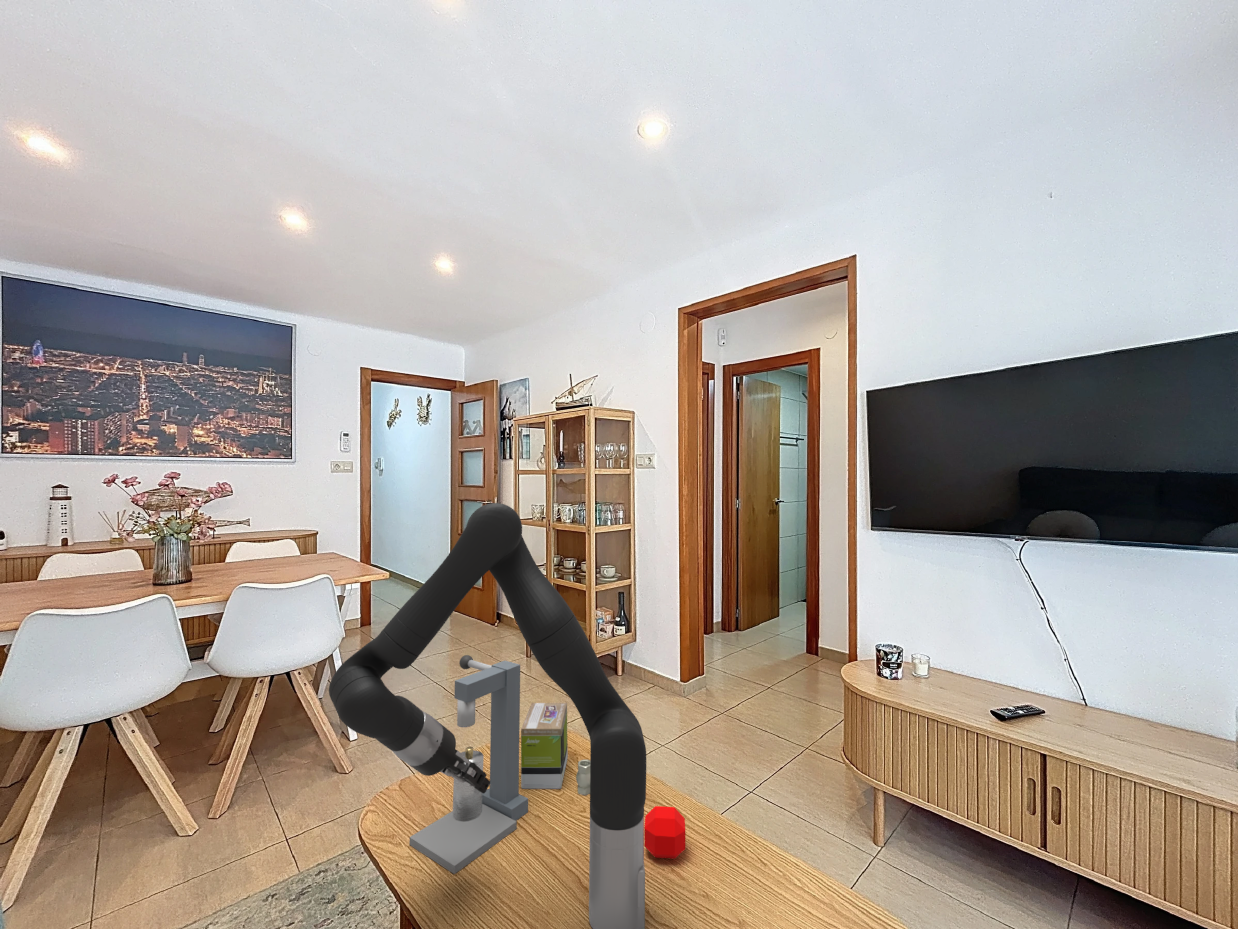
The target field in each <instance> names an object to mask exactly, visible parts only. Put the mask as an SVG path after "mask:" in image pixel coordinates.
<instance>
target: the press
mask: <svg viewBox="0 0 1238 929" xmlns="http://www.w3.org/2000/svg"><path fill="white" fill-rule="evenodd" d="M459 666H460V668H461V669H463V670H469V669H475V670H478V672H475V673H472V674H469V675H466V676H464V677H462V678H459V679H455V680H454V699H455V700H457V708H456V710H457V712H456V713H457V714H456V715H457V716H456V725H457V727H458V728H470V727H472V726H474V725H475V723H476V700H477V699H480V698H482V697H484V696H487V695H489V694H490V695H491V696H490V740H489V741H490V742H489V744H490V747H489V748H490V749H489V751H490V755H489V781H490V785H489V787H488V788H487V790H486V792H485V793H482V813H481V815H480V816H479V817H477V818H476V819H474V820H471V821H466V822H462V821H457V820H455V819H454V818H453V810H451V811H450V812H449V813H447V814H445V815H443V816H442V817H441V818H439V819H437V820H435V821H434V822H432V823H431V824H429V825H427V826H426V827H423V828H422V829H421V830H419V831H417V832H416V833H414V834H412V835H411V836H409V846H411V847H412V848H414V850H416V851H418V852H419V853H421V854H423V855H425V856H426V857H428V858H429V859H430V860H432V861H433V862H435V863H436V864H438V865H440V866H441V867H443V868H444V869H445V870H447V871H449V872H451V873H452V874H453V875H455V874H457V873H459V872H460V871H461V870H462V869H463V868H465V867H467V865H469V864H470V863H472V862H473V861H474V860H476V859H477V858H478V857H480V856H481V855H483V854H484V853H485V852H487V851H488V850H490V849H491V848H493V847H494V846H495V845H496V844H498V843H499V842H500V841H501V840H503V839H504V838H506V837H507V836H509V835H510V834H512V833H513V832H514V831H515V830H517V828H518V827H517V825H518V823H517V821H518V820H520V818H522V817H523V816H525V815H526V814H527V813H529V798H528V797H526V796H524V795H522V794H521V793H519V791H520V790H519V788H520V785H519V784H520V783H519V782H520V779H519V778H520V775H519V774H520V730H521V727H520V726H521V725H520V724H521V721H520V720H521V718H520V717H521V716H520V715H521V714H520V712H521V709H520V708H521V706H520V705H521V664H520V663H515V662H512V661H508V660H503V661H499V662H497V663H494V664H492V665H490V664H487V663H483V662H481V661H477V660H474V658H473V656H472V655H468V654H465V655H463V656H461V657H460V659H459ZM471 861H472V862H471Z"/></svg>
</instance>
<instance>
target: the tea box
mask: <svg viewBox="0 0 1238 929" xmlns="http://www.w3.org/2000/svg"><path fill="white" fill-rule="evenodd" d="M568 750H569V746H568V703H567V702H538V703H536V702H531V704H530V706H529V708H528V711H527V714H526V717H525V719H524V721H523V724H522V727H520V783H521V784H520V785H521V786H520V788H521V789H522V790H524V789H525V790H560V789H562V786H563V781H564V776H565V771H566V767H567V762H568V755H569V754H568Z"/></svg>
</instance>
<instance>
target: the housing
mask: <svg viewBox="0 0 1238 929" xmlns="http://www.w3.org/2000/svg"><path fill="white" fill-rule="evenodd" d="M464 750H465V751H462V752H461V751H460V752H461V753H462V754H463V756H464V757H465V758H467V759H468V760H469V761H471V762H472V763H473V762H474V763H475V765H477V766H478V767H479V768H480V769H481V770H482V771H483V772H484V754H483V752H481V751H479V750H474V747H473V746H467V747H465V749H464ZM464 763H465V762H464ZM465 765H466V763H465ZM462 772H463V771H462ZM462 772H461V773H460V774H459V775H457V776H461V774H462ZM452 789H453V790H452V791H453V792H452V793H453V794H452V797H453V798H452V811H453V818H454V819H455V820H457V821H462V822H466V821H471V820H474V819H476V818H477V817H479V816H480V815H481V813H482V793H481V792H480V791H478V790H477V789H476V788H474V787H473V786H472V787H471V786H470V785H469V784H468V783H466V782H464V783H461V782H459V781H457V780H456V779H454V778H453V788H452Z"/></svg>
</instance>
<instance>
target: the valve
mask: <svg viewBox="0 0 1238 929" xmlns="http://www.w3.org/2000/svg"><path fill="white" fill-rule="evenodd" d="M575 779H576V783H577V794H578V795H581V796H588V795H590V759H581V760H579V761H577V772H576V776H575Z"/></svg>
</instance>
